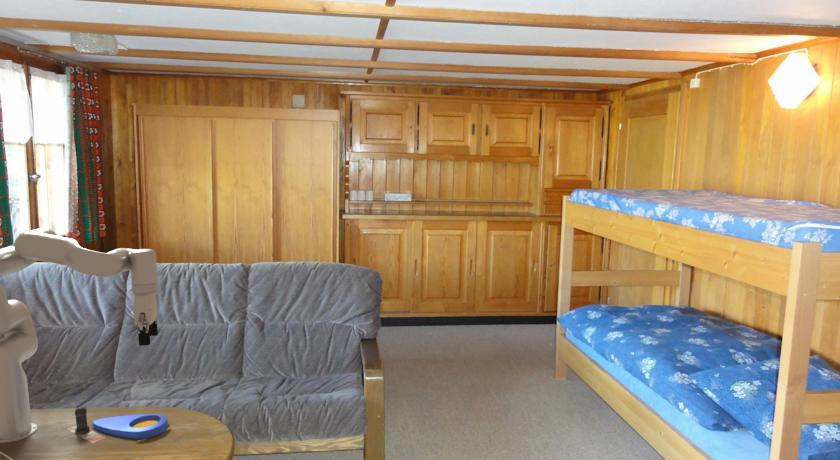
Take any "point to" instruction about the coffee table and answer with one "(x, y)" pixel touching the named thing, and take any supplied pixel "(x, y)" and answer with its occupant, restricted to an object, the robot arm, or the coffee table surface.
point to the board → (88, 435)
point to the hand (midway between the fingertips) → (148, 340)
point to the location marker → (133, 425)
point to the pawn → (81, 421)
